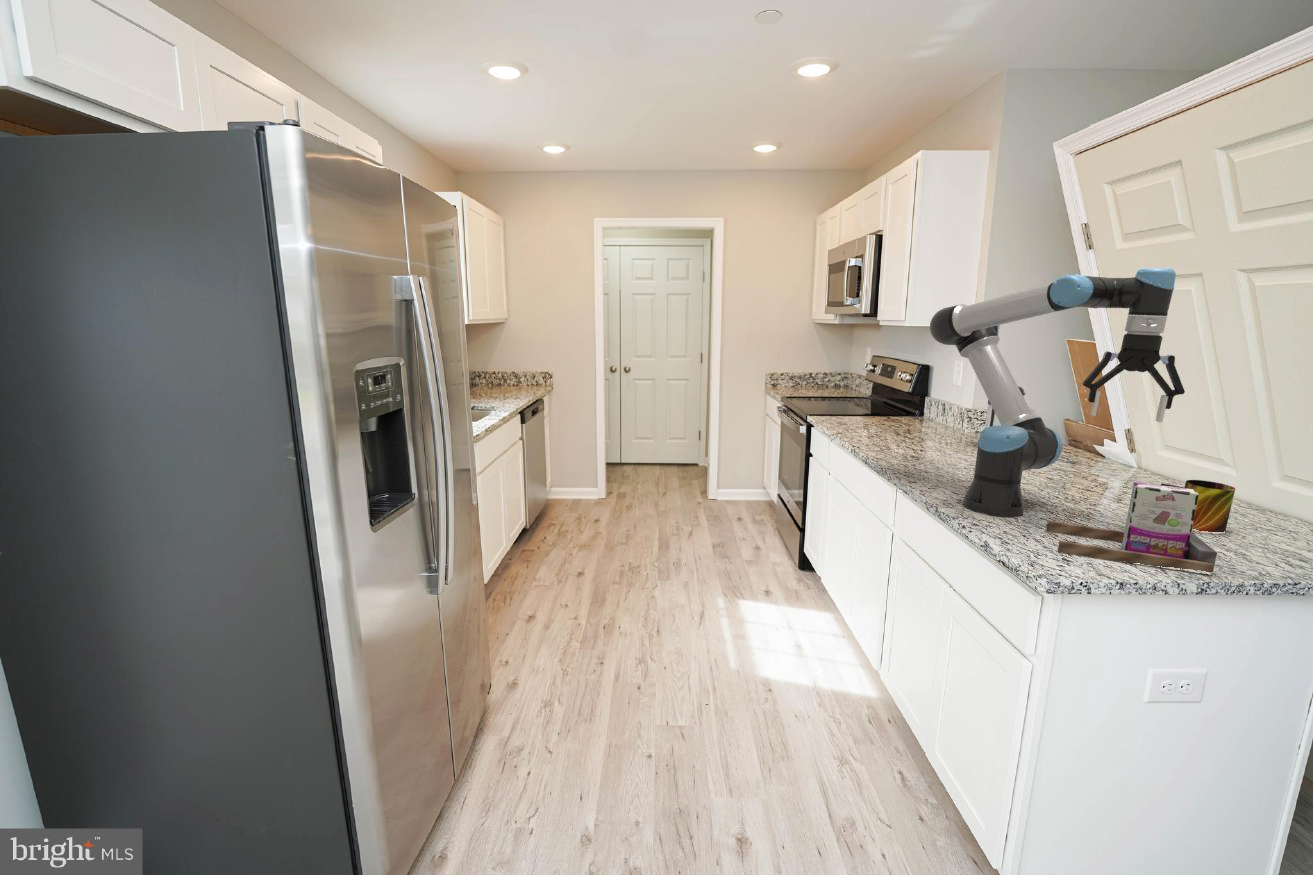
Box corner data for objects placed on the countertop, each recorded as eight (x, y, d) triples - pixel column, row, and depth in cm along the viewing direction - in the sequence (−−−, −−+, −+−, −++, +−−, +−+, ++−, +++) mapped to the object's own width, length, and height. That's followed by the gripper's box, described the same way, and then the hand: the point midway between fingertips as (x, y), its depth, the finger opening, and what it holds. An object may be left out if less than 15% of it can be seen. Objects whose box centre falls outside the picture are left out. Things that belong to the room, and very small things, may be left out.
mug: (1152, 516, 167) (1161, 475, 164) (1216, 525, 161) (1226, 483, 158) (1163, 527, 158) (1172, 484, 156) (1231, 537, 152) (1242, 492, 150)
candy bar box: (1180, 556, 138) (1194, 488, 134) (1185, 563, 134) (1201, 494, 130) (1120, 546, 143) (1132, 480, 140) (1123, 553, 139) (1136, 485, 136)
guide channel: (1058, 552, 139) (1062, 532, 138) (1046, 530, 154) (1049, 511, 153) (1214, 576, 128) (1219, 554, 127) (1185, 549, 143) (1189, 530, 141)
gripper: (1085, 331, 148) (1068, 414, 153) (1214, 337, 137) (1193, 426, 142) (1079, 330, 155) (1064, 410, 159) (1203, 336, 144) (1183, 421, 149)
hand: (1125, 418), depth 151 cm, fingers open, 13 cm apart
